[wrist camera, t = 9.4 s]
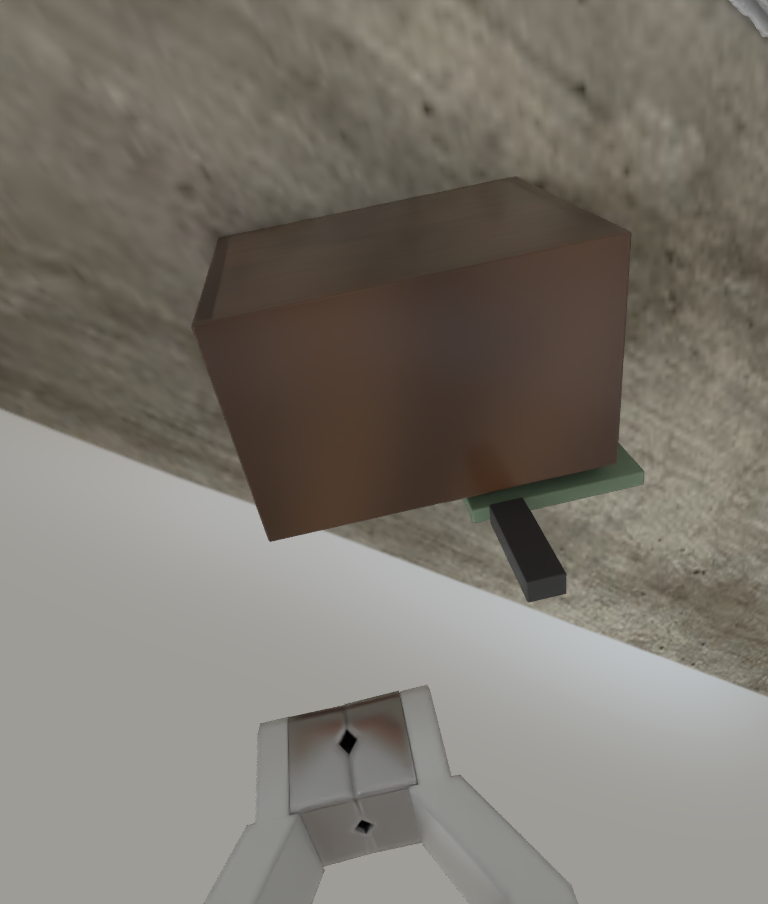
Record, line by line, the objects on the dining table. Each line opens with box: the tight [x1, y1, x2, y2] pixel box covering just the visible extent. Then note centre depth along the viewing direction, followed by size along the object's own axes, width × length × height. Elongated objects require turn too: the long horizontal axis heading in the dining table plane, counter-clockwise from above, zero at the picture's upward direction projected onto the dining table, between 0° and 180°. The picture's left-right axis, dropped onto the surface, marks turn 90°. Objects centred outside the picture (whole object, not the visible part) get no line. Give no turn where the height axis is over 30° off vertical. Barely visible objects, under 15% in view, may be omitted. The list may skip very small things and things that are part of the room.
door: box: [463, 443, 644, 602], centre depth 27 cm, size 7×1×14 cm, turn 99°
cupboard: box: [192, 177, 631, 542], centre depth 26 cm, size 14×11×11 cm
